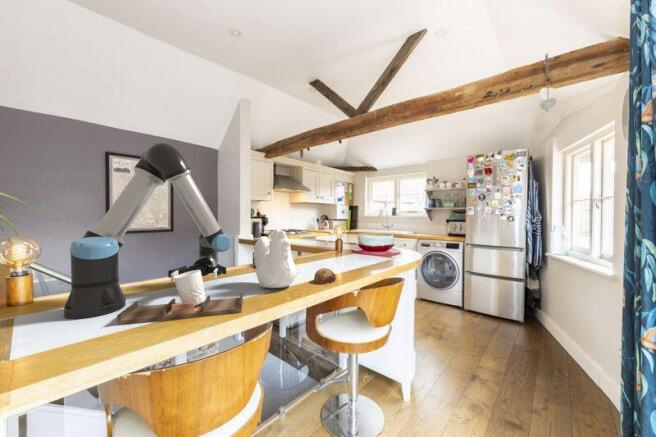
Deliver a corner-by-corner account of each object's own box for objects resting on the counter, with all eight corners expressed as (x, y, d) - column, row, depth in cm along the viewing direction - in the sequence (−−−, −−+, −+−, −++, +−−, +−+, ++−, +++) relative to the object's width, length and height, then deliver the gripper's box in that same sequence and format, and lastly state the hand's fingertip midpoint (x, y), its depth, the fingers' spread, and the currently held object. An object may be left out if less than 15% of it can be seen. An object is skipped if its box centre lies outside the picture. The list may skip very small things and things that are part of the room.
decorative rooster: (303, 288, 111) (303, 229, 111) (268, 294, 102) (267, 230, 102) (278, 277, 131) (277, 227, 131) (246, 281, 122) (246, 228, 122)
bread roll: (314, 287, 126) (307, 272, 125) (332, 276, 130) (326, 262, 128) (322, 292, 117) (314, 277, 116) (341, 280, 120) (334, 265, 119)
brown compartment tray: (117, 324, 74) (117, 310, 74) (135, 310, 86) (135, 297, 86) (241, 312, 83) (241, 299, 83) (242, 300, 95) (242, 289, 95)
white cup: (196, 307, 81) (188, 276, 81) (175, 310, 83) (167, 279, 82) (213, 296, 89) (205, 268, 88) (193, 299, 91) (186, 271, 90)
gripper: (235, 272, 117) (231, 284, 97) (172, 276, 111) (153, 290, 90) (234, 255, 117) (231, 264, 97) (171, 258, 111) (153, 268, 90)
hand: (193, 276), depth 94 cm, fingers open, 13 cm apart
